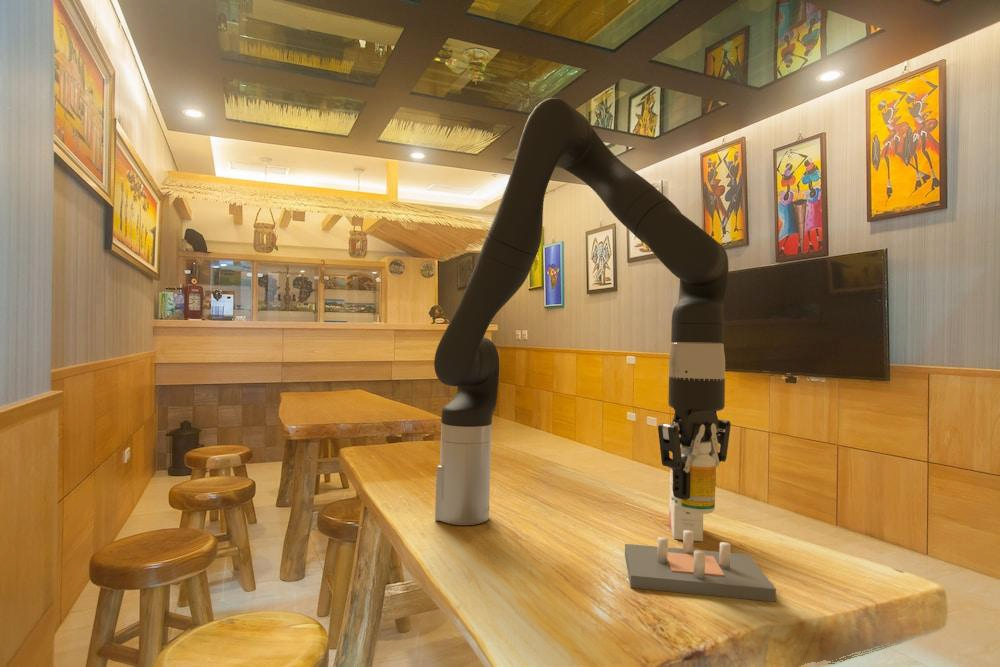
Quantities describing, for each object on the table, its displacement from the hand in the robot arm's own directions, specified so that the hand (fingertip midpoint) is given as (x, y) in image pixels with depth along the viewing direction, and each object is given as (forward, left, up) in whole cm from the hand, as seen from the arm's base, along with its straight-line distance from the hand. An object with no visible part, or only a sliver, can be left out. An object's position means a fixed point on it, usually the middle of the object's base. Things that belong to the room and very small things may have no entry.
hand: (694, 494), depth 77 cm
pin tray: (0, 0, -11) cm, 11 cm away
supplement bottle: (0, 0, -2) cm, 2 cm away
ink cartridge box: (+2, +19, -12) cm, 22 cm away
